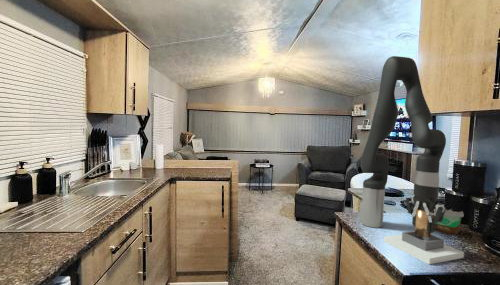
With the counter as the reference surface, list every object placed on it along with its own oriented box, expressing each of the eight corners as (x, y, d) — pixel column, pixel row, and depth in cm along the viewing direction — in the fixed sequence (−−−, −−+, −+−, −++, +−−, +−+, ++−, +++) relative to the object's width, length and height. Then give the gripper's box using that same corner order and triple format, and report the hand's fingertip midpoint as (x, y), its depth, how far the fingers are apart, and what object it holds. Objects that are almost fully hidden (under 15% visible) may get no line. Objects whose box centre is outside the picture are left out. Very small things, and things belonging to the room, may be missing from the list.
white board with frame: (384, 241, 103) (385, 229, 103) (415, 237, 109) (416, 225, 108) (429, 264, 86) (430, 249, 86) (463, 257, 92) (464, 243, 91)
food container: (428, 230, 117) (430, 208, 117) (428, 226, 122) (430, 205, 122) (464, 237, 110) (465, 214, 110) (462, 233, 115) (464, 210, 115)
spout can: (411, 232, 98) (413, 203, 98) (421, 231, 100) (423, 202, 100) (424, 237, 94) (426, 207, 93) (434, 236, 95) (436, 206, 95)
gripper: (401, 180, 102) (398, 223, 102) (439, 188, 88) (435, 238, 89) (415, 179, 104) (412, 222, 105) (454, 187, 91) (450, 235, 91)
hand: (423, 229), depth 97 cm, fingers closed on spout can, 5 cm apart
